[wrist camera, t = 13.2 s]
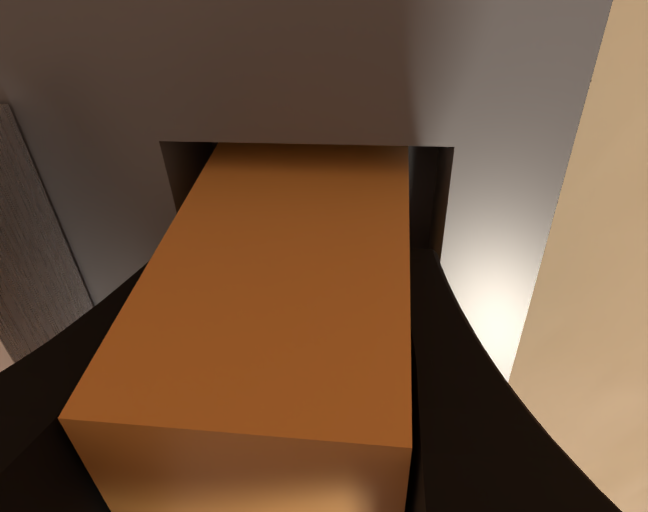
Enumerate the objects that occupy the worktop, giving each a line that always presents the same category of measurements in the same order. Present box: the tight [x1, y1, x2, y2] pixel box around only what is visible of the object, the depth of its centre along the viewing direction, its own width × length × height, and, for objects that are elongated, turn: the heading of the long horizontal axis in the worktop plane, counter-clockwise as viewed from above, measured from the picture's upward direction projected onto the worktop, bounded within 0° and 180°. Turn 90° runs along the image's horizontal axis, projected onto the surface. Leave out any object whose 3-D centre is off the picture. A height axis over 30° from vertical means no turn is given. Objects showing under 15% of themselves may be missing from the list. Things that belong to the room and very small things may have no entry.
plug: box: [58, 142, 412, 512], centre depth 10 cm, size 4×4×7 cm
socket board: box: [0, 0, 613, 382], centre depth 13 cm, size 12×14×3 cm
